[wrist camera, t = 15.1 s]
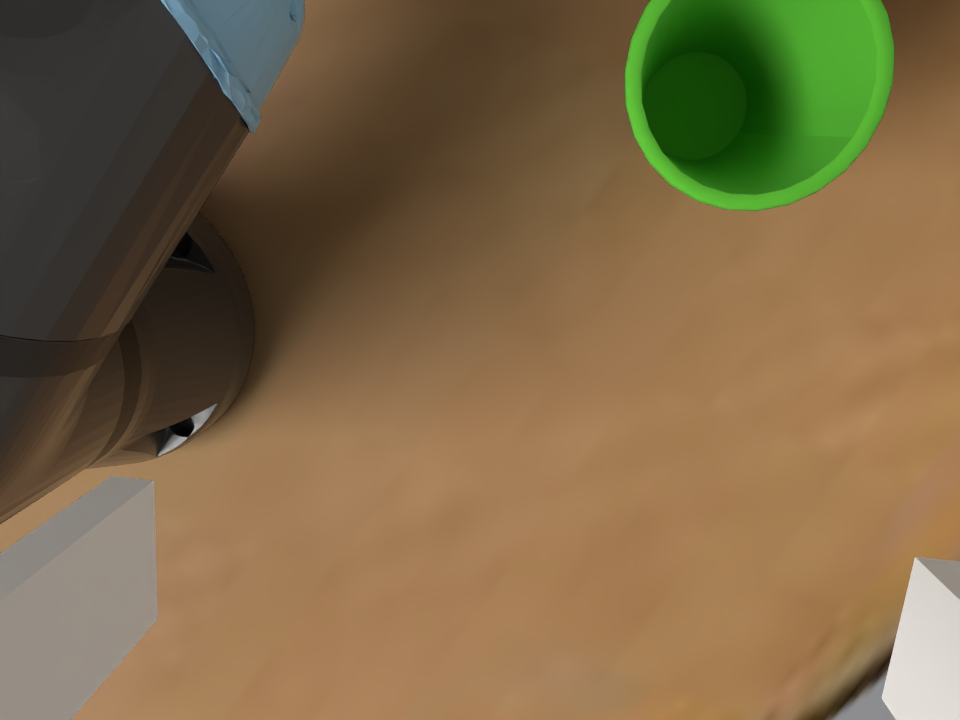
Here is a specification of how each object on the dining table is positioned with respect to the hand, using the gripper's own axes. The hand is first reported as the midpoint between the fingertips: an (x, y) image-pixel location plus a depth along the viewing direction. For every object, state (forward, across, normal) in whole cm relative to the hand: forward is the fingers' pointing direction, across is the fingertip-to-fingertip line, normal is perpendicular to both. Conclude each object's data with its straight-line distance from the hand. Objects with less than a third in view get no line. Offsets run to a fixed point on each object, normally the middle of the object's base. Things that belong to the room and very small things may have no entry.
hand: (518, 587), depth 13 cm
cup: (+27, +7, +11) cm, 30 cm away
